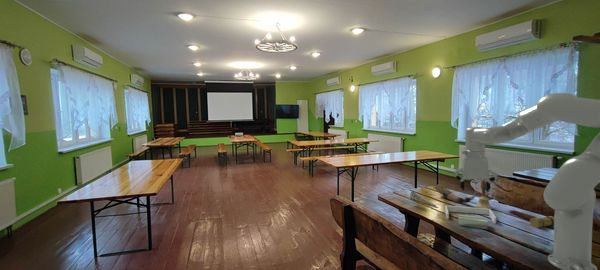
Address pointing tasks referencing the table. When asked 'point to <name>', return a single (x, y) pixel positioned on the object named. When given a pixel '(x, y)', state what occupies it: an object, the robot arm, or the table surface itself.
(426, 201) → the caliper
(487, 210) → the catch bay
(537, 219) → the gavel
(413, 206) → the table surface
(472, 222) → the pale green block
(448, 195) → the antique flintlock pistol
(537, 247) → the table surface
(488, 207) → the hand bell
